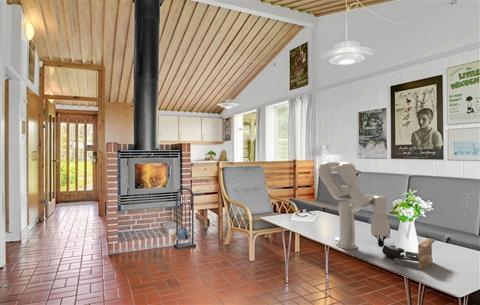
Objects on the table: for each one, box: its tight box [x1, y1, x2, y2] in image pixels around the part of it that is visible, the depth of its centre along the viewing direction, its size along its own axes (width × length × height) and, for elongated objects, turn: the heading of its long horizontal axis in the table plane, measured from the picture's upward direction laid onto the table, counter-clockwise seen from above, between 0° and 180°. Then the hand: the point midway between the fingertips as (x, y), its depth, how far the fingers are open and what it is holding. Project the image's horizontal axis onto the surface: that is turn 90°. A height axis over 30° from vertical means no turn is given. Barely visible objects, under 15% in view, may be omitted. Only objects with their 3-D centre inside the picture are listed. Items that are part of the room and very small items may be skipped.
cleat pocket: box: [394, 250, 419, 270], centre depth 172 cm, size 12×18×3 cm, turn 133°
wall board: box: [417, 238, 436, 271], centre depth 166 cm, size 3×18×13 cm, turn 133°
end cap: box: [381, 244, 405, 260], centre depth 179 cm, size 10×7×7 cm
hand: (381, 246), depth 184 cm, fingers closed
